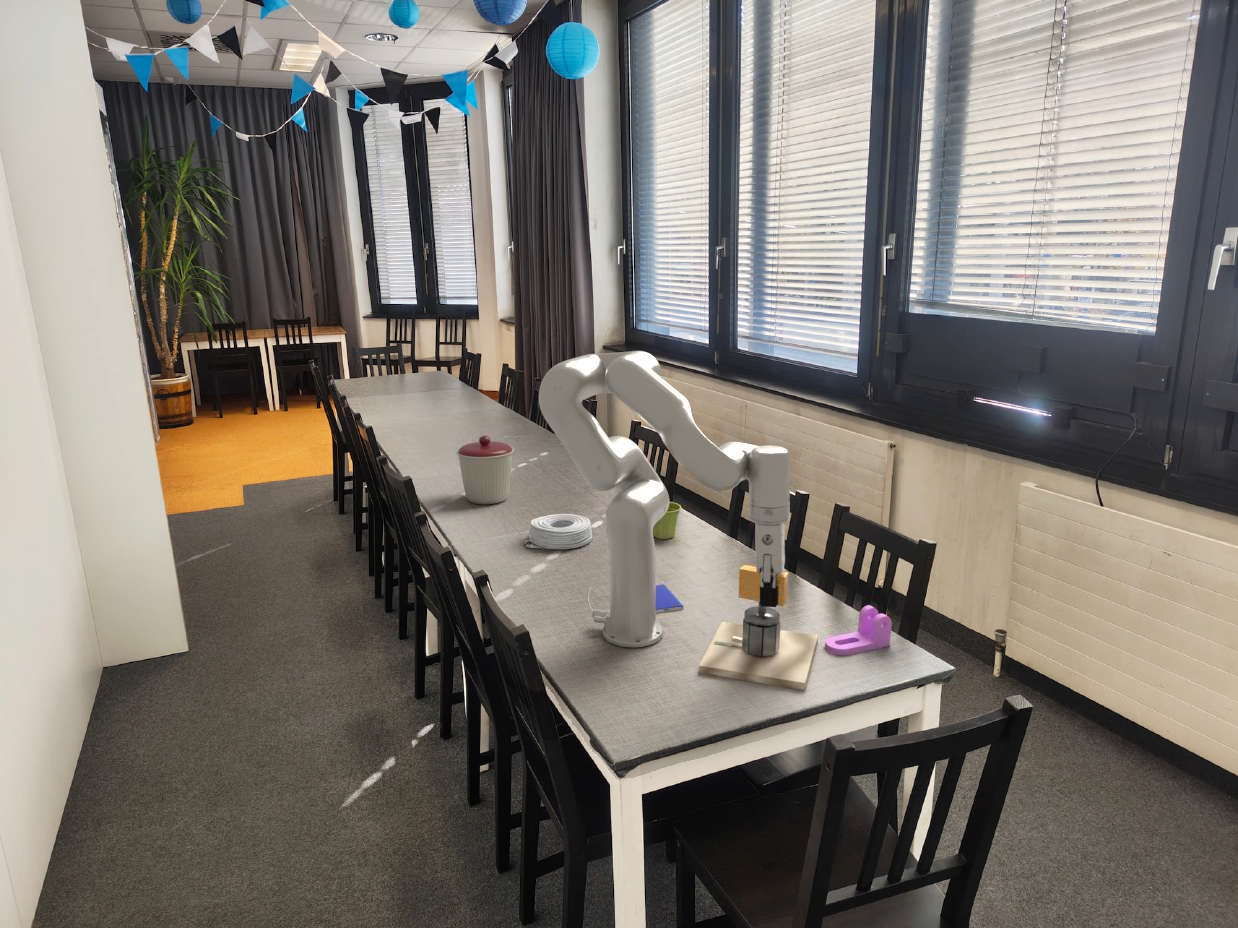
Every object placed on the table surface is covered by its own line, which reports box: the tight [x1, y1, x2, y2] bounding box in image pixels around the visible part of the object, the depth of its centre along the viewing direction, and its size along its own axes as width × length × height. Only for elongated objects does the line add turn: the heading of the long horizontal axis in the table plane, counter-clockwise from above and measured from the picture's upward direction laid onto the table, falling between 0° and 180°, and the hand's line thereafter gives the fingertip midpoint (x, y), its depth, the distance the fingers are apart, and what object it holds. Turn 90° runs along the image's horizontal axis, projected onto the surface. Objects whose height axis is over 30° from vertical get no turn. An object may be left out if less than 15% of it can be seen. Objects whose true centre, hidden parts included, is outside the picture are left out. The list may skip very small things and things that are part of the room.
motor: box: [732, 564, 790, 656], centre depth 162 cm, size 7×10×16 cm, turn 62°
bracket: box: [824, 604, 893, 656], centre depth 168 cm, size 13×6×7 cm, turn 111°
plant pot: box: [653, 501, 682, 540], centre depth 231 cm, size 9×9×9 cm
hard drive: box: [656, 583, 685, 614], centre depth 190 cm, size 2×8×12 cm
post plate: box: [698, 621, 819, 691], centre depth 163 cm, size 20×20×8 cm
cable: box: [523, 513, 593, 550], centre depth 229 cm, size 18×18×6 cm
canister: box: [455, 435, 515, 505], centre depth 263 cm, size 18×18×21 cm
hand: (769, 601), depth 161 cm, fingers closed on motor, 3 cm apart
